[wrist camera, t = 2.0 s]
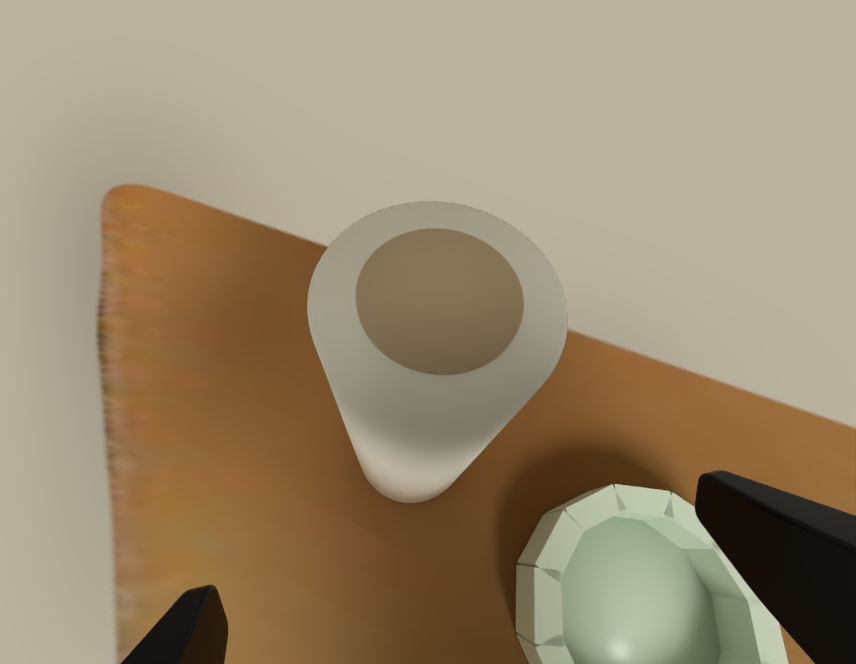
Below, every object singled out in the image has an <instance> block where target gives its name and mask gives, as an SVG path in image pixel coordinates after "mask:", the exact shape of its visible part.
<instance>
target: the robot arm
mask: <svg viewBox="0 0 856 664" xmlns="http://www.w3.org/2000/svg"><path fill="white" fill-rule="evenodd" d="M695 513H696V516H697V518H698V520H699V521H700V523H701V524H702V525H703V527H704V528H705V529H706V531H707V532H708V533H709V535H710V536H711V537H712V539H713V540H714V541H715V543H716V544H717V545H718V547H719V548H720V549H721V551H722V552H723V553H724V555H725V556H726V557H727V559H728V560H729V561H730V563H731V564H732V565H733V567H734V568H735V569H736V570H737V572H738V573H739V574H740V576H741V577H742V578H743V580H744V581H745V582H746V584H747V585H748V586H749V588H750V589H751V590H752V591H753V593H754V594H755V595H756V596H757V598H758V599H759V600H760V601H761V602H762V604H763V605H764V606H765V607H766V608H767V610H768V611H769V612H770V613H771V614H772V615H773V616H774V618H775V619H776V620H777V621H778V622H779V623H780V624H781V626H782V627H783V628H784V629H785V630H786V631H787V632H788V634H789V635H790V636H791V637H792V638H793V639H794V640H795V641H796V643H797V644H798V645H799V646H800V647H801V648H802V649H803V651H804V652H805V653H806V654H807V655H808V656H809V657H810V659H811V660H812V661H813V662H814V663H815V664H856V516H855V515H852V514H849V513H846V512H843V511H840V510H837V509H835V508H832V507H829V506H826V505H823V504H820V503H817V502H814V501H811V500H808V499H805V498H803V497H800V496H797V495H794V494H791V493H788V492H785V491H782V490H779V489H776V488H773V487H771V486H768V485H765V484H762V483H759V482H756V481H753V480H750V479H747V478H744V477H741V476H739V475H736V474H733V473H730V472H727V471H723V470H717V471H713V472H708V473H704V474H702V475H701V476H700V477H699V480H698V485H697V492H696V499H695ZM227 639H228V622H227V618H226V615H225V612H224V608H223V605H222V602H221V599H220V596H219V593H218V590H217V588H216V587H215V586H214V585H206V586H202V587H197V588H193V589H189V590H187V591H186V592H184V593H183V594H182V595H181V596H180V597H179V599H178V600H177V601H176V602H175V603H174V604H173V605H172V607H171V608H170V609H169V610H168V611H167V612H166V613H165V614H164V616H163V617H162V618H161V619H160V620H159V621H158V622H157V623H156V625H155V626H154V627H153V628H152V629H151V630H150V631H149V632H148V634H147V635H146V636H145V637H144V638H143V639H142V640H141V641H140V643H139V644H138V645H137V646H136V647H135V648H134V649H133V651H132V652H131V653H130V654H129V655H128V656H127V657H126V658H125V660H124V661H123V662H122V663H121V664H224V661H225V654H226V646H227Z"/></svg>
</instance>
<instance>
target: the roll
mask: <svg viewBox="0 0 856 664" xmlns="http://www.w3.org/2000/svg"><path fill="white" fill-rule="evenodd" d="M307 313H308V323H309V328H310V331H311V335H312V339H313V342H314V345H315V347H316V350H317V353H318V355H319V358H320V361H321V363H322V366H323V368H324V371H325V374H326V376H327V379H328V382H329V384H330V387H331V390H332V392H333V395H334V398H335V400H336V403H337V406H338V408H339V411H340V413H341V416H342V419H343V421H344V424H345V427H346V429H347V432H348V435H349V437H350V440H351V443H352V445H353V448H354V451H355V453H356V456H357V458H358V461H359V464H360V466H361V469H362V471H363V474H364V475H365V477H366V479H367V480H368V482H369V483H370V484H371V485H372V486H373V487H374V488H375V489H376V490H377V491H378V492H379V493H381V494H382V495H384V496H385V497H387V498H389V499H392V500H395V501H398V502H403V503H420V502H424V501H428V500H430V499H433V498H435V497H437V496H438V495H440V494H441V493H443V492H444V491H445V490H446V489H447V488H448V487H449V486H451V484H452V483H453V482H454V481H455V480H456V479H457V478H458V477H459V476H460V475H461V474H462V472H463V471H464V470H465V469H466V468H467V467H468V466H469V465H470V464H471V463H472V462H473V460H474V459H475V458H476V457H477V456H478V455H479V454H480V453H481V452H482V451H483V450H484V448H485V447H486V446H487V445H488V444H489V443H490V442H491V441H492V440H493V439H494V438H495V437H496V435H497V434H498V433H499V432H500V431H501V430H502V429H503V428H504V427H505V426H506V425H507V423H508V422H509V421H510V420H511V419H512V418H513V417H514V416H515V415H516V414H517V413H518V411H519V410H520V409H521V408H522V407H523V406H524V405H525V404H526V403H527V402H528V401H529V399H530V398H531V397H532V396H533V395H534V394H535V393H536V392H537V391H538V390H539V389H540V388H541V386H542V385H543V384H544V383H545V381H546V380H547V379H548V377H549V376H550V375H551V373H552V372H553V370H554V368H555V367H556V365H557V363H558V361H559V359H560V356H561V354H562V351H563V348H564V345H565V340H566V334H567V321H568V320H567V319H568V314H567V306H566V300H565V296H564V292H563V289H562V286H561V283H560V281H559V279H558V276H557V274H556V272H555V271H554V269H553V267H552V266H551V264H550V262H549V261H548V259H547V258H546V257H545V256H544V254H543V253H542V252H541V251H540V249H539V248H538V247H537V246H536V245H535V244H534V243H533V242H532V241H531V240H530V239H529V238H528V237H526V236H525V235H524V234H523V233H522V232H520V231H519V230H518V229H516V228H514V227H513V226H512V225H510V224H509V223H507V222H505V221H503V220H501V219H499V218H497V217H496V216H494V215H491V214H489V213H486V212H484V211H481V210H479V209H475V208H472V207H468V206H465V205H459V204H454V203H447V202H414V203H405V204H401V205H396V206H392V207H389V208H386V209H382V210H379V211H377V212H375V213H372V214H370V215H368V216H366V217H364V218H362V219H361V220H359V221H357V222H356V223H354V224H352V225H351V226H350V227H349V228H347V229H346V230H345V231H344V232H342V233H341V234H340V235H339V236H338V237H337V238H336V239H335V240H334V241H333V242H332V243H331V244H330V246H329V247H328V248H327V250H326V251H325V252H324V254H323V255H322V257H321V259H320V261H319V262H318V264H317V266H316V268H315V271H314V274H313V276H312V279H311V283H310V287H309V292H308V303H307Z"/></svg>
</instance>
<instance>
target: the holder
mask: <svg viewBox="0 0 856 664" xmlns="http://www.w3.org/2000/svg"><path fill="white" fill-rule="evenodd" d="M517 563H519V564H520V565H516V632H518V634H516V635H517V637H518V640H519V642H520V644H521V647H522V649H523V651H524V654H525V656H526V658H527V661H528V663H529V664H788V660H787V656H786V651H785V647H784V643H783V639H782V634H781V630H780V626H779V622H778V621H777V620H776V619H775V618H774V616H773V615H772V614H771V613H770V612H769V611H768V610H767V608H766V607H765V606H764V605H763V604H762V602H761V601H760V600H759V599H758V598H757V596H756V595H755V594H754V593H753V591H752V590H751V589H750V588H749V586H748V585H747V584H746V582H745V581H744V580H743V578H742V577H741V576H740V574H739V573H738V572H737V570H736V569H735V568H734V567H733V565H732V564H731V563H730V561H729V560H728V559H727V557H726V556H725V555H724V553H723V552H722V551H721V549H720V548H719V547H718V545H717V544H716V543H715V541H714V540H713V539H712V537H711V536H710V535H709V533H708V532H707V531H706V529H705V528H704V527H703V525H702V524H701V523H700V521H699V520H698V518H697V516H696V513H695V507H694V506H692V505H691V504H689V503H688V502H686V501H685V500H683V499H682V498H680V497H679V496H678V495H676V494H675V493H673V492H671V493H670V491H665V490H658V489H650V488H643V487H635V486H627V485H620V484H611V485H608V486H605V487H601V488H598V489H594V490H591V491H588V492H585V493H583V494H581V495H579V496H577V497H575V498H573V499H572V500H570V501H568V502H566V503H564V504H562V505H560V506H558V507H556V508H554V509H552V510H550V511H548V512H546V513H545V514H544V515H543V516H542V517H541V519H540V521H539V523H538V525H537V527H536V528H535V530H534V532H533V534H532V536H531V538H530V539H529V541H528V543H527V545H526V547H525V549H524V550H523V552H522V554H521V556H520V558H519V559H518V561H517Z"/></svg>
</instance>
